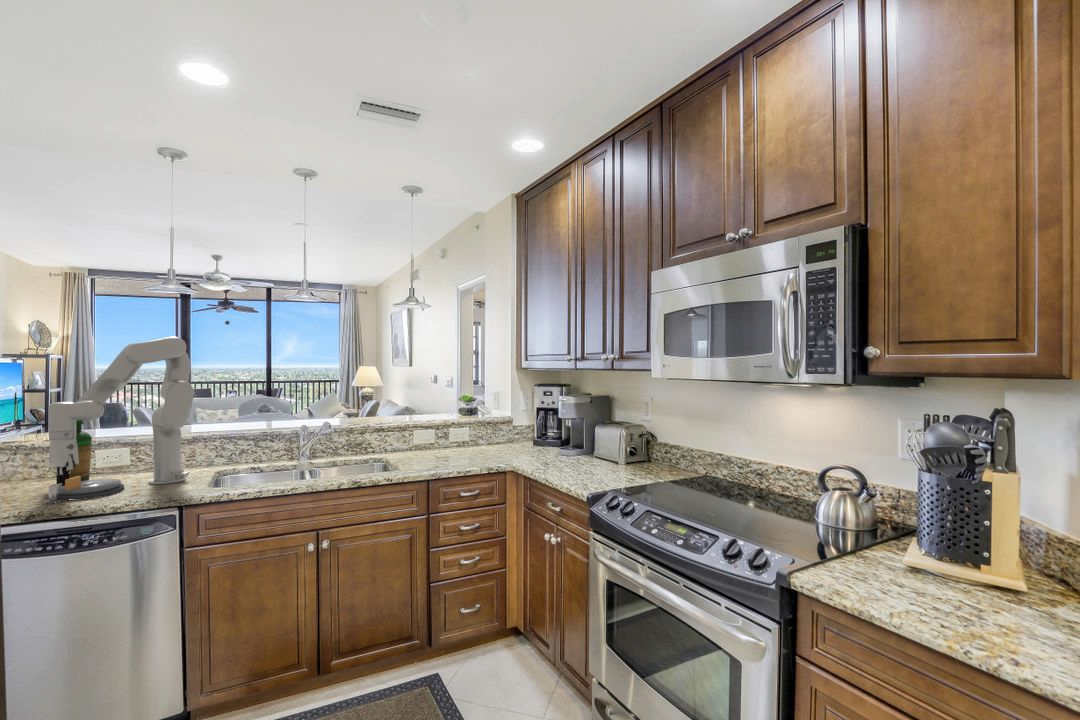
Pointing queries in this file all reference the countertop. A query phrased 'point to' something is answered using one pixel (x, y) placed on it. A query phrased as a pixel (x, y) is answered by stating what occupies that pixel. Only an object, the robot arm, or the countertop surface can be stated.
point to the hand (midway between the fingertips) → (63, 485)
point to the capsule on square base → (53, 494)
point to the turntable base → (92, 494)
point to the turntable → (87, 486)
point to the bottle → (82, 453)
